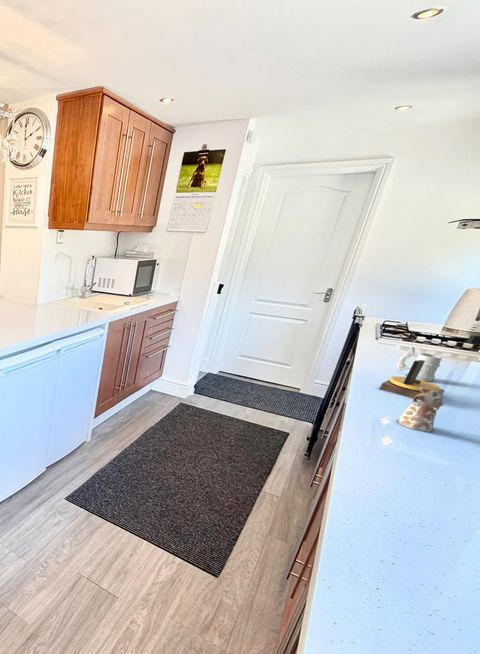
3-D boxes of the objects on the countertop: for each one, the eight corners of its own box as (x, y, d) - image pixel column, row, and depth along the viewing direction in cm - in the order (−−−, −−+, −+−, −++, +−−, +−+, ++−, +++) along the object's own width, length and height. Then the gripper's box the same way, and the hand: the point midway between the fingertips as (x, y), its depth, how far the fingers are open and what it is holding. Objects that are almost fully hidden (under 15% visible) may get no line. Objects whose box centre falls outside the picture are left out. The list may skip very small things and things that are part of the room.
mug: (431, 383, 161) (446, 354, 157) (391, 374, 170) (404, 347, 165) (433, 379, 166) (448, 351, 161) (394, 370, 174) (406, 344, 169)
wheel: (445, 395, 141) (460, 368, 137) (395, 386, 147) (408, 360, 143) (431, 384, 151) (444, 359, 147) (385, 376, 157) (397, 352, 153)
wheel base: (441, 396, 148) (445, 389, 147) (431, 403, 141) (435, 396, 140) (390, 383, 159) (393, 377, 158) (379, 389, 152) (382, 383, 151)
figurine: (424, 433, 119) (444, 396, 115) (393, 422, 125) (411, 387, 120) (435, 429, 122) (455, 393, 117) (404, 418, 128) (422, 384, 123)
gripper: (564, 361, 131) (485, 355, 133) (518, 349, 143) (446, 344, 145) (578, 339, 128) (497, 333, 130) (530, 328, 140) (456, 324, 142)
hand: (470, 339), depth 138 cm, fingers closed
